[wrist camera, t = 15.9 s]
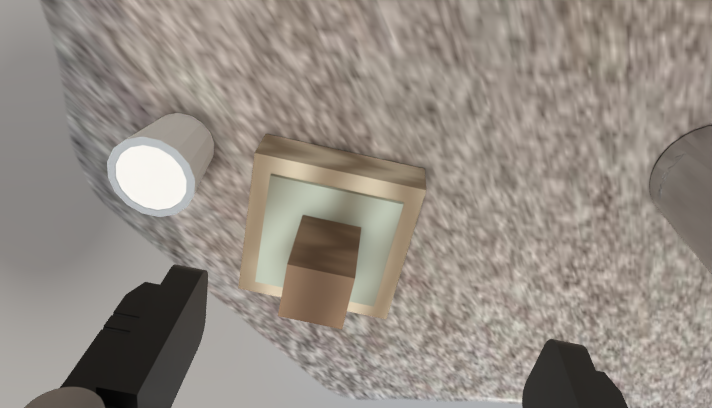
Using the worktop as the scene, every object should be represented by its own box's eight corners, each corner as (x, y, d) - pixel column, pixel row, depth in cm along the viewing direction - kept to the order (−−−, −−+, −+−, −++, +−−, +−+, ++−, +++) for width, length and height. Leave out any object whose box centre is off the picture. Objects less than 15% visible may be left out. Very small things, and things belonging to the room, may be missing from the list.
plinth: (424, 168, 46) (426, 192, 43) (387, 292, 53) (386, 322, 50) (265, 133, 46) (253, 154, 42) (249, 262, 53) (237, 290, 49)
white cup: (196, 94, 45) (163, 124, 39) (235, 163, 48) (211, 202, 42) (129, 122, 46) (88, 155, 40) (171, 187, 49) (138, 228, 43)
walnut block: (361, 227, 45) (355, 278, 39) (349, 274, 47) (342, 329, 41) (302, 214, 44) (287, 264, 38) (294, 262, 47) (277, 315, 41)
